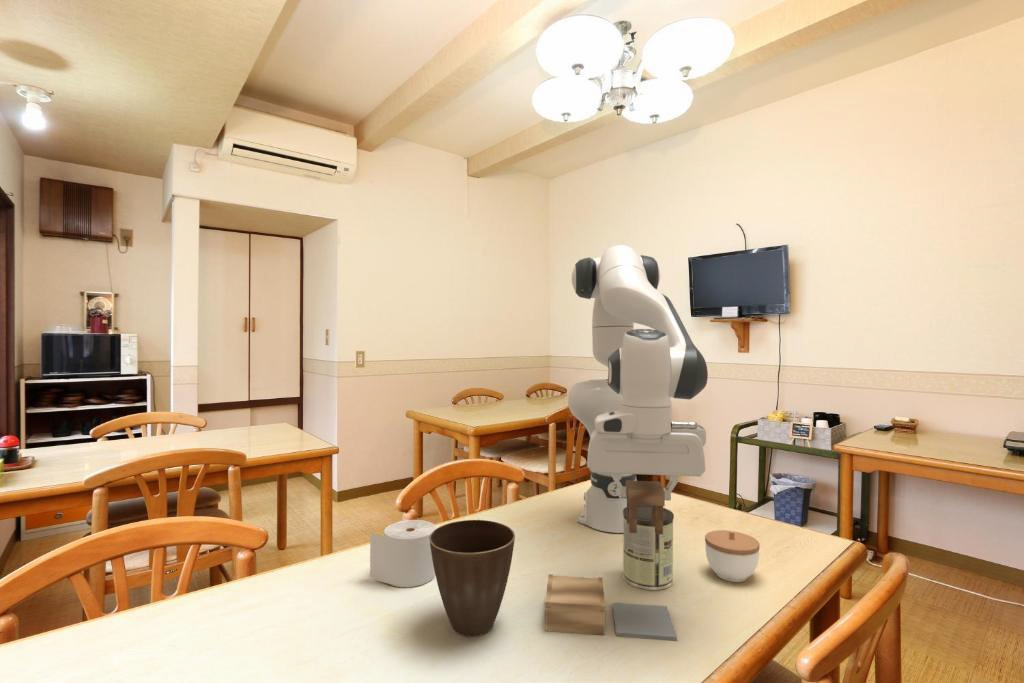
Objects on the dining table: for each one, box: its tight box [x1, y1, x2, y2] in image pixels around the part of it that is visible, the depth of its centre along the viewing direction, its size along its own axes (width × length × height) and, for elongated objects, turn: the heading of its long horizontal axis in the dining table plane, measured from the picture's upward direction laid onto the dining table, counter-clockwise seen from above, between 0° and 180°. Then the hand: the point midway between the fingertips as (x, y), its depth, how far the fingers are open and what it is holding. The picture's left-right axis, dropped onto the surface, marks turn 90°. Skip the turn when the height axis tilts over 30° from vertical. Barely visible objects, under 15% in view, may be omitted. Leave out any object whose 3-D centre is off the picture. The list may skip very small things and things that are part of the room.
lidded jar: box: [704, 529, 760, 583], centre depth 112 cm, size 11×11×9 cm
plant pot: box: [429, 519, 516, 637], centre depth 92 cm, size 15×15×16 cm
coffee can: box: [622, 505, 675, 591], centre depth 110 cm, size 10×10×14 cm
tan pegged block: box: [626, 480, 666, 534], centre depth 93 cm, size 6×6×8 cm
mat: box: [611, 602, 678, 641], centre depth 94 cm, size 10×10×1 cm
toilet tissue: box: [369, 519, 437, 588], centre depth 110 cm, size 11×12×10 cm
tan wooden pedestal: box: [545, 573, 606, 636], centre depth 95 cm, size 10×10×5 cm
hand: (644, 498), depth 93 cm, fingers closed on tan pegged block, 6 cm apart
